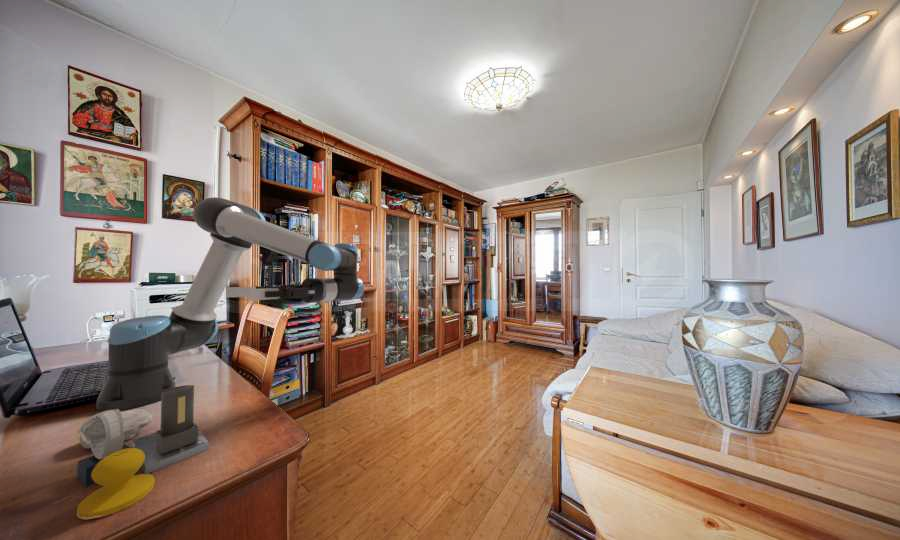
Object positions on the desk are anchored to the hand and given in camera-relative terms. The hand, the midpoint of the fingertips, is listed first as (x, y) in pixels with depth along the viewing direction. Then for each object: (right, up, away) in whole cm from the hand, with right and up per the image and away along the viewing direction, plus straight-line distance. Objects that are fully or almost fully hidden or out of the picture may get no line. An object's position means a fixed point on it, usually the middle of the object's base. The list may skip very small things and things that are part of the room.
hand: (236, 293), depth 68 cm
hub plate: (-6, -32, -11) cm, 34 cm away
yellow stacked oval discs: (-1, -32, -23) cm, 39 cm away
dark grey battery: (-3, -30, -12) cm, 32 cm away
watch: (-10, -32, -18) cm, 38 cm away
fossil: (-21, -32, -7) cm, 39 cm away
